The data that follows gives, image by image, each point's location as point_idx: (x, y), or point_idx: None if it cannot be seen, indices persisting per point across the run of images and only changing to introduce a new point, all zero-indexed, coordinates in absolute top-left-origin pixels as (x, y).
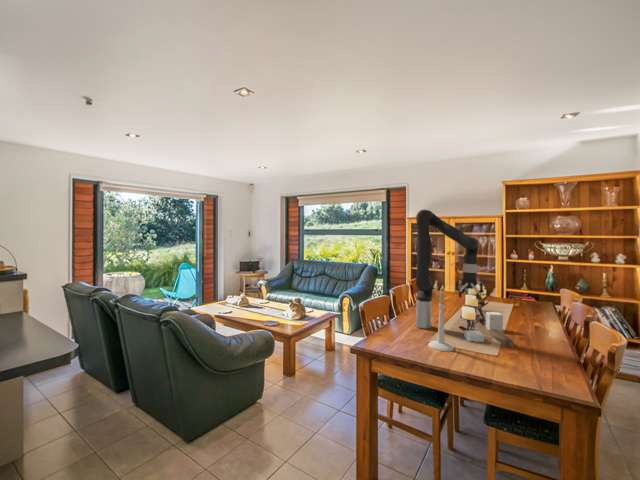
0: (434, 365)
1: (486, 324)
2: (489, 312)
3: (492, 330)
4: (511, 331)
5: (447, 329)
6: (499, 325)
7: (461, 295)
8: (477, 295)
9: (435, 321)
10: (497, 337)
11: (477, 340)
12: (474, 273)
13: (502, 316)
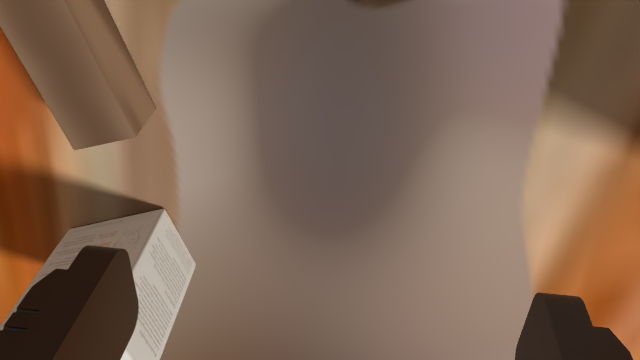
0: None
1: (181, 279)
2: None
3: (105, 85)
4: (12, 245)
5: (550, 126)
6: (70, 256)
7: (560, 353)
8: (26, 341)
9: (611, 317)
10: None
11: None
12: None
13: (2, 326)
